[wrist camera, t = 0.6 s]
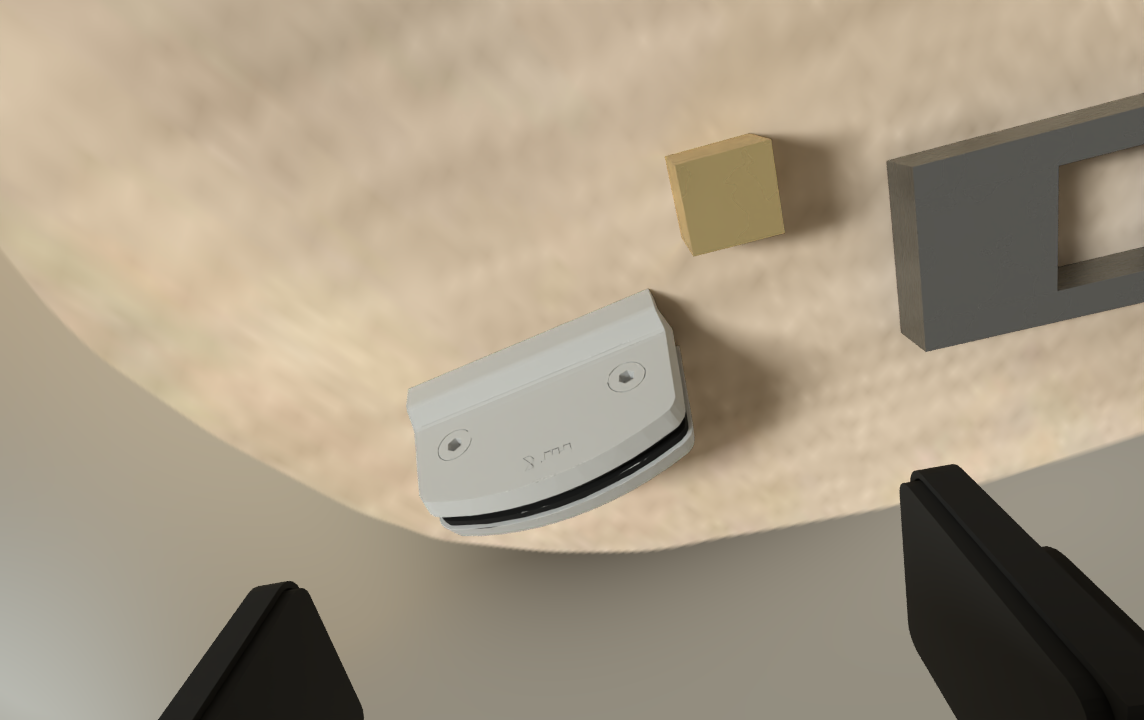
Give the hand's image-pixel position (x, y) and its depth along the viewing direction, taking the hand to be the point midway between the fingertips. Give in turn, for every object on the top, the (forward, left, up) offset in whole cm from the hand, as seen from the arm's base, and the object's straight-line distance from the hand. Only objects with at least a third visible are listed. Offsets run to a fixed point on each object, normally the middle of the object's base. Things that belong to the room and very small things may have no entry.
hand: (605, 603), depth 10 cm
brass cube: (-1, +7, -29) cm, 29 cm away
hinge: (+9, -5, -29) cm, 30 cm away
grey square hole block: (+5, +26, -28) cm, 39 cm away
